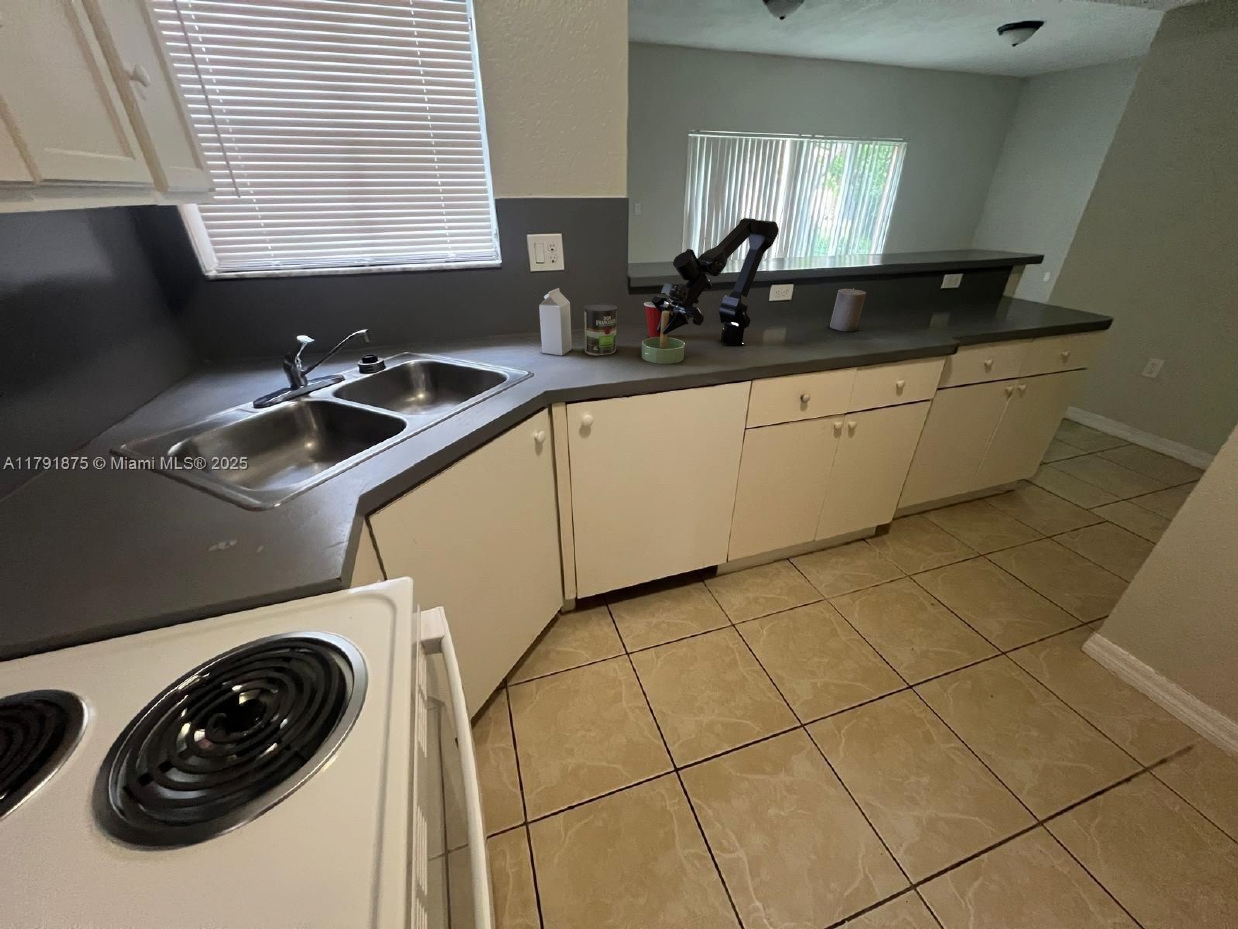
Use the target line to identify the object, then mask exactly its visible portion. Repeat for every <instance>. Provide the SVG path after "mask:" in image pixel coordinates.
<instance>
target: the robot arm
mask: <svg viewBox="0 0 1238 929" xmlns="http://www.w3.org/2000/svg"><path fill="white" fill-rule="evenodd" d="M779 232H780V230H779V226H778V223H777V221H774V220H763V219H756V218H752V217H751V218H750V217H743V218H742V219H740V220H739V222H738V224H737V225H736V226H735V227H734V228H733V229H732V230H731V231H730V232H729V233H728V234H727V235H726V236H725V237H724V238H723V239H722V240H721V241H720V242H719V243H718V244H717V245H716V246H715V247H712V248H709V249H707V250H706V251H704V252H703V253H701V254H700V255H699V256H698V257H697V255H696V253H695V251H694V249H692V248H686V250H685V251H682V252H680V253H679V254H678V255H676V256H675V257H674V259H673V261H672V265H673V268H675V270H676V271H677V273H678V274H679V276H680V278H681V279H682V280H683V281H686V282H684V284H682V283H679V284H678V285H675V284H672V283H670V282H669V283H668V282H664V283H663V286H662V288H661V292H660V294H662V295H665V296H667V297H668V299H667V298H666V297H665V296H662V295H655V296H654V297H653V298H652V299H651V301H650V302H652V303H653V304H654V305H655V307H656V308H657V309H658V311H659V312H660V313H662V311H669V322H668V324H667V325H666V327H665V328H664V330H663V332H662V333H663V334H664V335H665V334H667V333H668V334H669V333H671V332H673V331H674V330H677V329H679V328H680V327H683V326H685V325H689V321H690V319H692V323H693V325H696V326H699V327H701V325H702V324H703V322H704V319H705V315H704V314H703V313H702V312H701V310H700V308H699V307H698V306H696V305H695V304H697V305H698V304H699V302H700V301H699V297H700V296H701V294H702V293H703V292H704V291H705V289H708V290H712V289H713V285H712V279H711V278H708V277H707V276H711V277H718V276H720V275H721V274H722V272H723V271H724V269H725V268H726V266H727V264H728V260H729V258H730V257H731V256H732V255H733V253H735V252H736V251H737V250H738V248H740V246H741V245H743V244H744V242H745V241H747V239H748V246H749V247H748V250H747V253H746V255H745V259H744V261H743V263H742V266H741V268H740V271H739V274H738V275H737V276H738V277H737V279H736V282H735V284H734V286H733V289H732V291H731V293H729V295H726V294H725V295H724V296H723V297H722V301H721V303H720V305H719V312H718V314H719V319H720V320H719V321H720V324H723V327H722V329H721V336H720V341H721V342H722V344H723V345H725V346H744V345H745V343H744V342H743V341H744V335H745V329H747V328H749V327H750V324H751V322H752V321H751V319H750V317H749V315H748V313H747V311H748V308H749V305H748V295H749V292H750V290H751V288H752V284H753V282H754V280H755V277H756V274H757V272H758V270H759V267H760V265H761V262H762V259H763V257H764V254H765V253H766V252H767V251H768V250H769V249H770V248H771V247H772V246H773V244H774V243H775V241H776V240H777V237H778V235H779ZM668 300H669V301H668ZM670 303H671V304H670ZM661 319H662V314H661ZM661 319H660V322H659V325H658V328H657V331H658V332H661Z"/></svg>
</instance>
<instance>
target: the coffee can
mask: <svg viewBox="0 0 1238 929" xmlns="http://www.w3.org/2000/svg"><path fill="white" fill-rule="evenodd" d="M583 310H584V311H583V312H584V314H583V315H584V353H585V354H587V355H590V356H595V357H599V356H600V355H601V356H603V355H611V354H614V353H615V352H616V351H617V314H618V312H617V310H618V306H617V305H615V304H611V303H605V302H604V303H603V302H599V303H598V302H597V303H589V304H585V305H584V306H583Z"/></svg>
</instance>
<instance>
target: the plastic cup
mask: <svg viewBox="0 0 1238 929" xmlns="http://www.w3.org/2000/svg"><path fill="white" fill-rule="evenodd" d="M669 303H670V304H671V303H672V302H669ZM643 305H644V308H645V313H646V314H645V315H646V322H647V329H648V336H649V337H648V338H652V337H660V334H661V332H658V331H657V328H658V325H659V322H660V319H661V314H662V313H660V312H659V311H658V309H657V308H656V307H655V305H654V304H653V303H652V302H651V301H645V302H644V303H643Z"/></svg>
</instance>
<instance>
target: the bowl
mask: <svg viewBox="0 0 1238 929" xmlns="http://www.w3.org/2000/svg"><path fill="white" fill-rule="evenodd" d="M659 348H660V337H652V338H650V337H647V338H645V339H643V340H642V341H641V348H640V350H641V351H640V357H641V359H643V360H644V361H646V362H648V363H652V364H661V365H670V364H677V363H680V362H682V361H683V360H684V358H685V351H686V350H685V349H686V343H685V341H683V340H681V339H678V338H675V337H670V336H669V337H667V349H659Z"/></svg>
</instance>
